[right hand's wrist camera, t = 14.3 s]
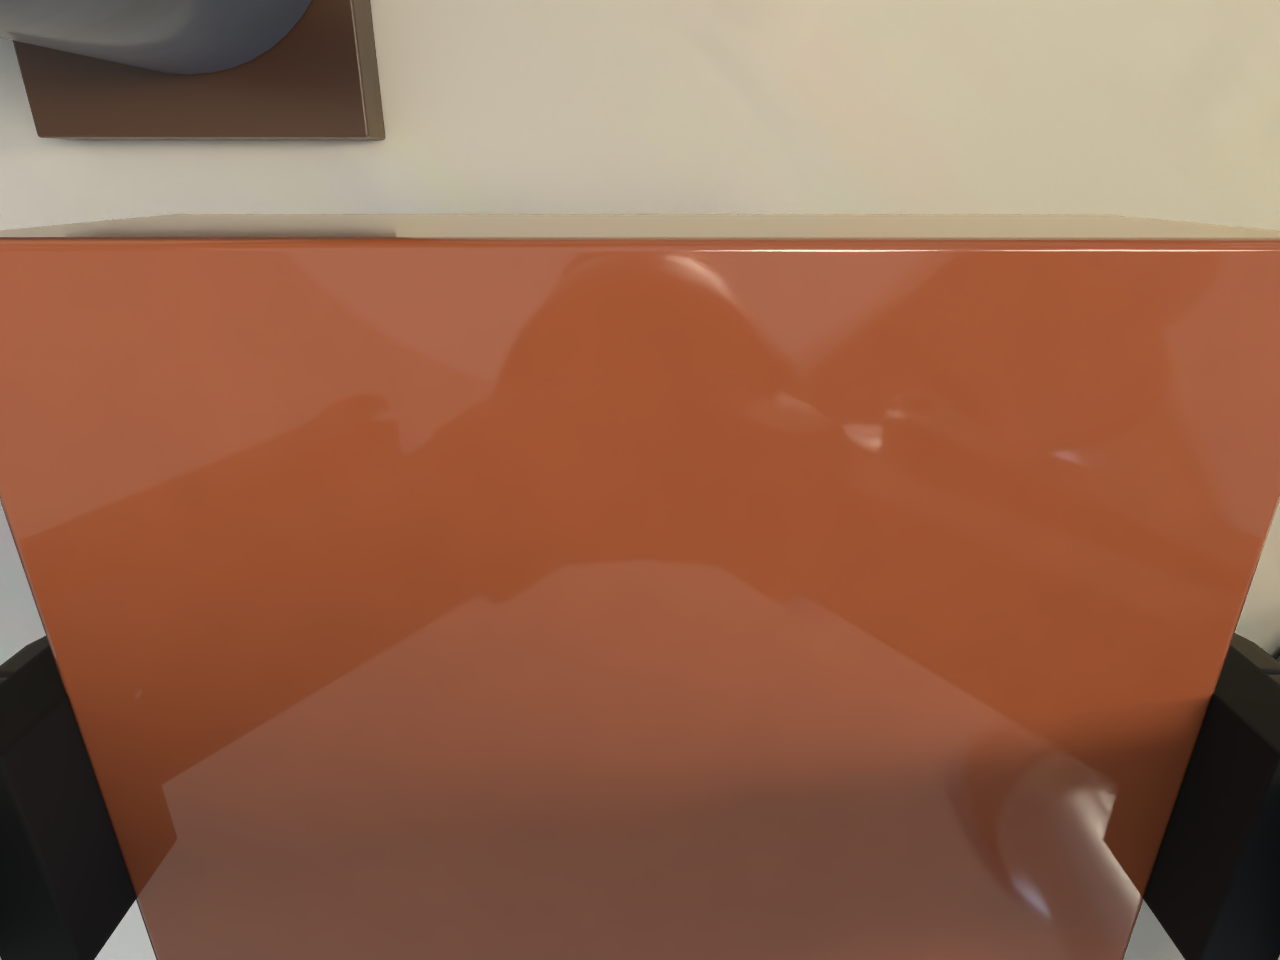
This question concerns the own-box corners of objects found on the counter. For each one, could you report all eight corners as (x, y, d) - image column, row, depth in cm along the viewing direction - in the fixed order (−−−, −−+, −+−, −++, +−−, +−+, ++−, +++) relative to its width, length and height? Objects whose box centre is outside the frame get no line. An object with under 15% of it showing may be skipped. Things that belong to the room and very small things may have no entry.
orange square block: (237, 207, 10) (-98, 237, 6) (1043, 208, 10) (1376, 237, 6) (351, 820, 15) (211, 1133, 10) (928, 821, 15) (1068, 1133, 10)
